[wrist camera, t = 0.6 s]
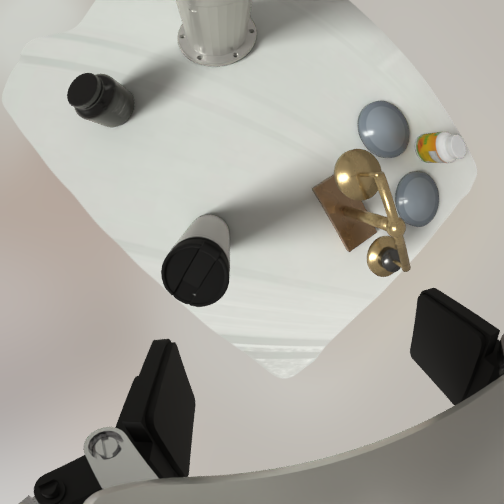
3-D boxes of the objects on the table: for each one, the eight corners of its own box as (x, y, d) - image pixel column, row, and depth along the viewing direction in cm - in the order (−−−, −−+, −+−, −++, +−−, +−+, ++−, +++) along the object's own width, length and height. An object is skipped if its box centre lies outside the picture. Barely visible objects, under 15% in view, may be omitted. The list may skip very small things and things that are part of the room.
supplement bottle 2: (422, 128, 41) (456, 123, 32) (438, 149, 42) (472, 148, 33) (409, 147, 42) (443, 144, 32) (426, 168, 43) (460, 169, 34)
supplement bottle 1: (122, 81, 35) (91, 55, 24) (143, 107, 37) (115, 86, 26) (91, 109, 36) (53, 93, 24) (111, 136, 38) (74, 125, 26)
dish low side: (386, 188, 43) (390, 188, 42) (422, 162, 43) (426, 162, 41) (407, 235, 46) (411, 237, 45) (441, 208, 45) (444, 209, 44)
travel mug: (238, 225, 43) (245, 264, 24) (216, 261, 44) (208, 323, 25) (203, 204, 42) (181, 226, 23) (182, 241, 43) (147, 290, 24)
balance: (299, 168, 42) (344, 162, 24) (329, 149, 41) (388, 135, 24) (355, 267, 47) (412, 311, 29) (381, 248, 46) (446, 282, 29)
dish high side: (346, 115, 40) (349, 114, 39) (387, 94, 39) (390, 92, 38) (376, 167, 42) (380, 167, 41) (413, 143, 42) (417, 142, 40)
